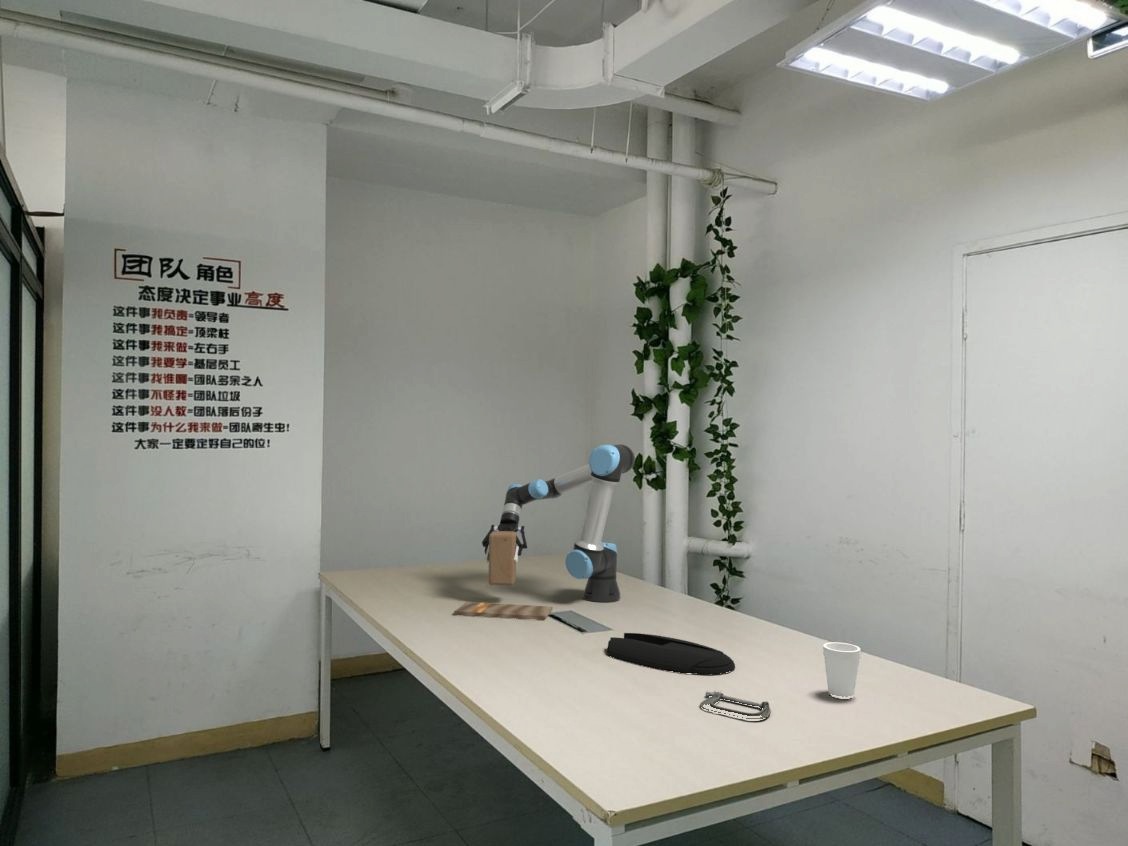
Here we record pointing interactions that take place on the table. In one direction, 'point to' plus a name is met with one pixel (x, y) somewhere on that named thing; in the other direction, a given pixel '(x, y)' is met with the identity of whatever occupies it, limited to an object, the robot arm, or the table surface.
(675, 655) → the black notched oval shell
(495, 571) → the wooden block
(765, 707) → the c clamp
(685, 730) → the table surface
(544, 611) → the floor board
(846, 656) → the foam cup
